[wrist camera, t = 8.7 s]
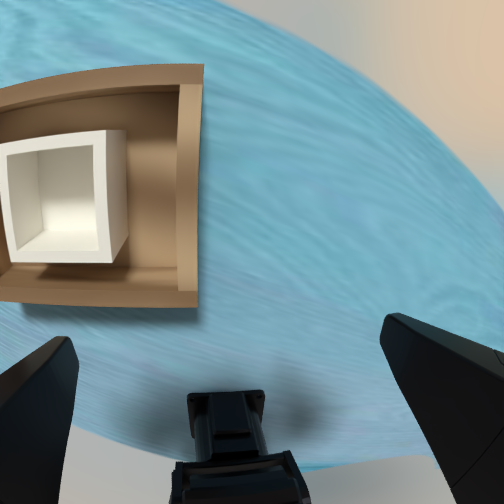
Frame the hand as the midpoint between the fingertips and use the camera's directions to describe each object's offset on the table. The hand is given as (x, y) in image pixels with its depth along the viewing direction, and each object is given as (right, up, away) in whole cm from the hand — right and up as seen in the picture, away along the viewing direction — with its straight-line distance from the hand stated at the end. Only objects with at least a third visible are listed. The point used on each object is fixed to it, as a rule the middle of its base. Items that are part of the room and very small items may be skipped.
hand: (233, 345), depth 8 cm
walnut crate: (-10, +7, +8) cm, 14 cm away
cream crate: (-9, +6, +8) cm, 14 cm away
